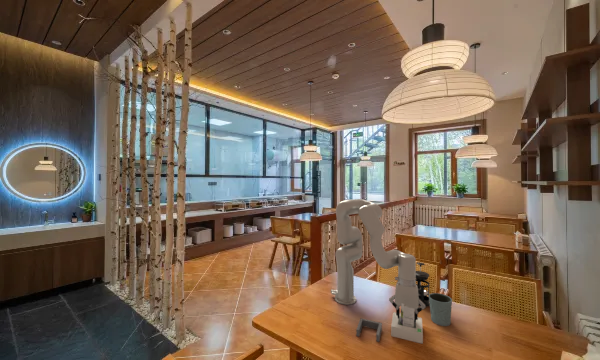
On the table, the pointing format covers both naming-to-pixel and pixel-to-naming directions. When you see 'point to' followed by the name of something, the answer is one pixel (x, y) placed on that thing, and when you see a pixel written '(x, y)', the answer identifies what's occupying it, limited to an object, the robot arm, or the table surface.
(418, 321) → the port
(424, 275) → the french press
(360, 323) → the grey u-shaped bracket
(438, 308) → the grey embossed plant pot
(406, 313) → the syrup box
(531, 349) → the table surface
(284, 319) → the table surface
